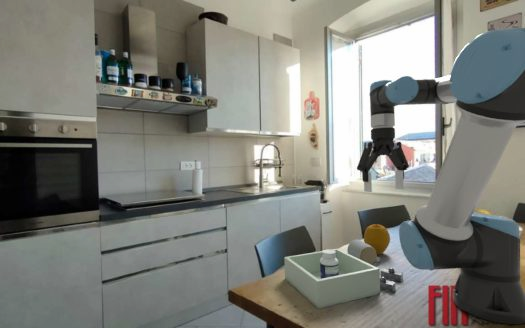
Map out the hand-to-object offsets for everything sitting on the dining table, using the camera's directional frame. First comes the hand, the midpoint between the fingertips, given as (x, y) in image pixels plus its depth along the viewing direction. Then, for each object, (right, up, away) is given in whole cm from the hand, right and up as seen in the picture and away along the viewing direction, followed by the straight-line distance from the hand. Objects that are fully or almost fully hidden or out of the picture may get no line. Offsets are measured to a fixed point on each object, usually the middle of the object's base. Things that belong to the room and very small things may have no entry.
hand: (384, 190), depth 98 cm
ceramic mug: (-4, -27, +7) cm, 28 cm away
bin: (-21, -28, -12) cm, 37 cm away
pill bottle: (-21, -27, -12) cm, 36 cm away
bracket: (-4, -27, -11) cm, 29 cm away
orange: (+4, -27, +15) cm, 31 cm away
